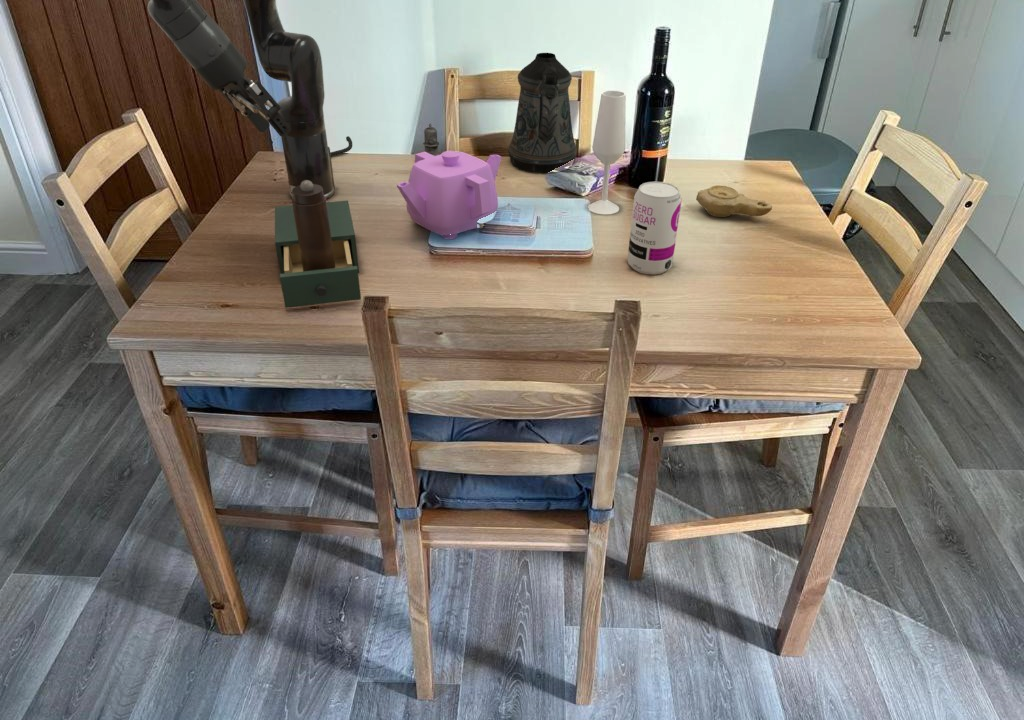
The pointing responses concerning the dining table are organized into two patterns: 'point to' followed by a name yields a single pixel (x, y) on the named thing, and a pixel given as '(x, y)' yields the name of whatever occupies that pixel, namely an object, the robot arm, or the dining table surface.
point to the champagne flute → (609, 142)
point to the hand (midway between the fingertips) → (276, 131)
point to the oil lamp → (730, 202)
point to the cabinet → (338, 227)
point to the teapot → (451, 191)
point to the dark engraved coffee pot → (543, 117)
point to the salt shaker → (431, 140)
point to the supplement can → (654, 227)
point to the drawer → (319, 278)
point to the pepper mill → (312, 227)
